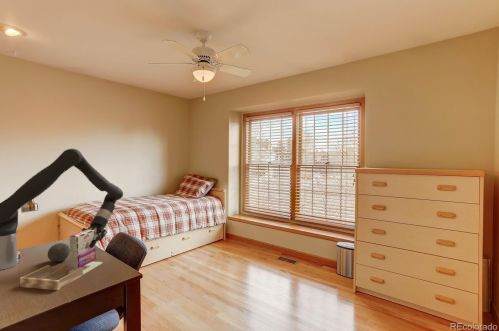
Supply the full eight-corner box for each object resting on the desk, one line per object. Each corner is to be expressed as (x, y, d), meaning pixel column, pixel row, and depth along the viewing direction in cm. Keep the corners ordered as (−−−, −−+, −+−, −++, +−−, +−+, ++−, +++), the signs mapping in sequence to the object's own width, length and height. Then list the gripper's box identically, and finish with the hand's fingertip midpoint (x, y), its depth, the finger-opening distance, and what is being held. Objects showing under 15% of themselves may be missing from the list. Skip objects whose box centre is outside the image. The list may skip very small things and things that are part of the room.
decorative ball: (47, 266, 136) (46, 248, 136) (48, 260, 144) (47, 242, 144) (70, 262, 142) (70, 244, 141) (69, 256, 150) (69, 239, 149)
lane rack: (20, 286, 115) (19, 278, 115) (48, 272, 129) (48, 264, 129) (58, 290, 113) (57, 281, 113) (82, 275, 127) (82, 267, 127)
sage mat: (67, 273, 129) (67, 272, 129) (88, 261, 143) (88, 261, 143) (83, 274, 128) (83, 273, 128) (102, 262, 142) (102, 262, 142)
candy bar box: (88, 259, 140) (87, 229, 139) (96, 259, 139) (95, 229, 138) (69, 268, 129) (68, 235, 128) (78, 268, 128) (77, 236, 127)
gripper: (86, 214, 144) (69, 243, 133) (109, 215, 143) (94, 244, 131) (93, 221, 150) (77, 249, 139) (116, 222, 148) (101, 251, 137)
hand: (85, 247), depth 135 cm, fingers closed on candy bar box, 5 cm apart
